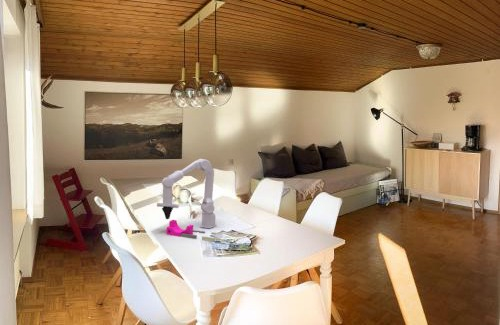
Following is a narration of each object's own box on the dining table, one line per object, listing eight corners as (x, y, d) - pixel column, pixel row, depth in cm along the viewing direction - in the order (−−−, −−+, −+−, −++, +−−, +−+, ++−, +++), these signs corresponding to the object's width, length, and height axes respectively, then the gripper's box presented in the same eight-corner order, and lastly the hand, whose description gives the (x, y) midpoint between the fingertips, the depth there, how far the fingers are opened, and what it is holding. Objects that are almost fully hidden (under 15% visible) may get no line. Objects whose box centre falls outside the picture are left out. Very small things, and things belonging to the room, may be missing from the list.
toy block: (166, 234, 236) (166, 222, 234) (172, 231, 242) (173, 219, 240) (186, 239, 230) (187, 228, 228) (192, 236, 235) (193, 225, 234)
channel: (180, 231, 245) (180, 228, 245) (205, 234, 238) (205, 231, 238) (170, 235, 234) (170, 232, 234) (195, 239, 228) (195, 235, 228)
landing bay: (212, 235, 237) (212, 232, 237) (240, 238, 230) (240, 235, 230) (201, 240, 226) (201, 236, 225) (231, 243, 218) (231, 240, 218)
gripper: (153, 197, 237) (153, 219, 238) (174, 198, 232) (174, 221, 233) (160, 195, 244) (160, 216, 244) (180, 197, 238) (180, 218, 239)
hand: (167, 218), depth 239 cm, fingers closed
